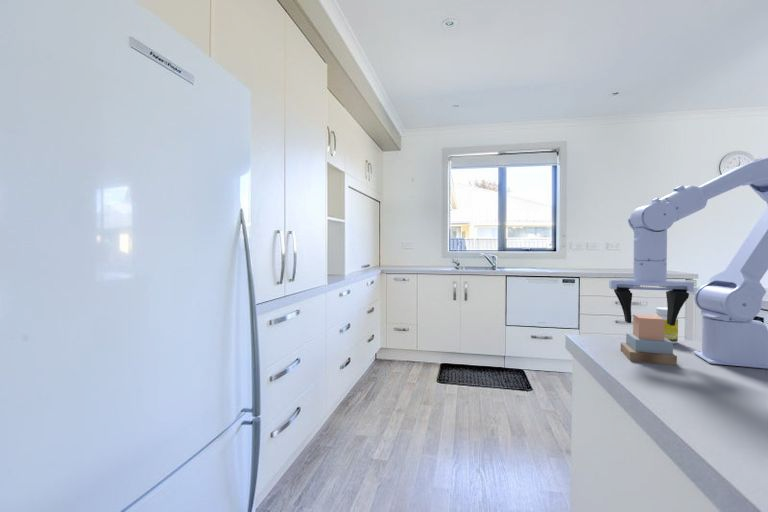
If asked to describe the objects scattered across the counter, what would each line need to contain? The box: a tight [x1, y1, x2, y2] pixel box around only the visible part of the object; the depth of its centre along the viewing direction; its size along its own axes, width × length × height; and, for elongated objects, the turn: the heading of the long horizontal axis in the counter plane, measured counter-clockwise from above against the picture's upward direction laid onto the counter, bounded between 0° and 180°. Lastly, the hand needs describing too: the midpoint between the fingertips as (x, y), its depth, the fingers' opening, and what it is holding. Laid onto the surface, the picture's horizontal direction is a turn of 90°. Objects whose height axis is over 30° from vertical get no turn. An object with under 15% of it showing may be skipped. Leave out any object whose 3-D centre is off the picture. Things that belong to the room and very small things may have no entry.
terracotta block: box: [632, 313, 665, 341], centre depth 77 cm, size 4×4×4 cm
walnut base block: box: [620, 342, 678, 366], centre depth 77 cm, size 8×8×2 cm
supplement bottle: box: [655, 306, 679, 345], centre depth 89 cm, size 5×5×8 cm
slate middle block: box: [625, 332, 674, 355], centre depth 77 cm, size 6×6×2 cm
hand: (649, 323), depth 76 cm, fingers open, 7 cm apart
